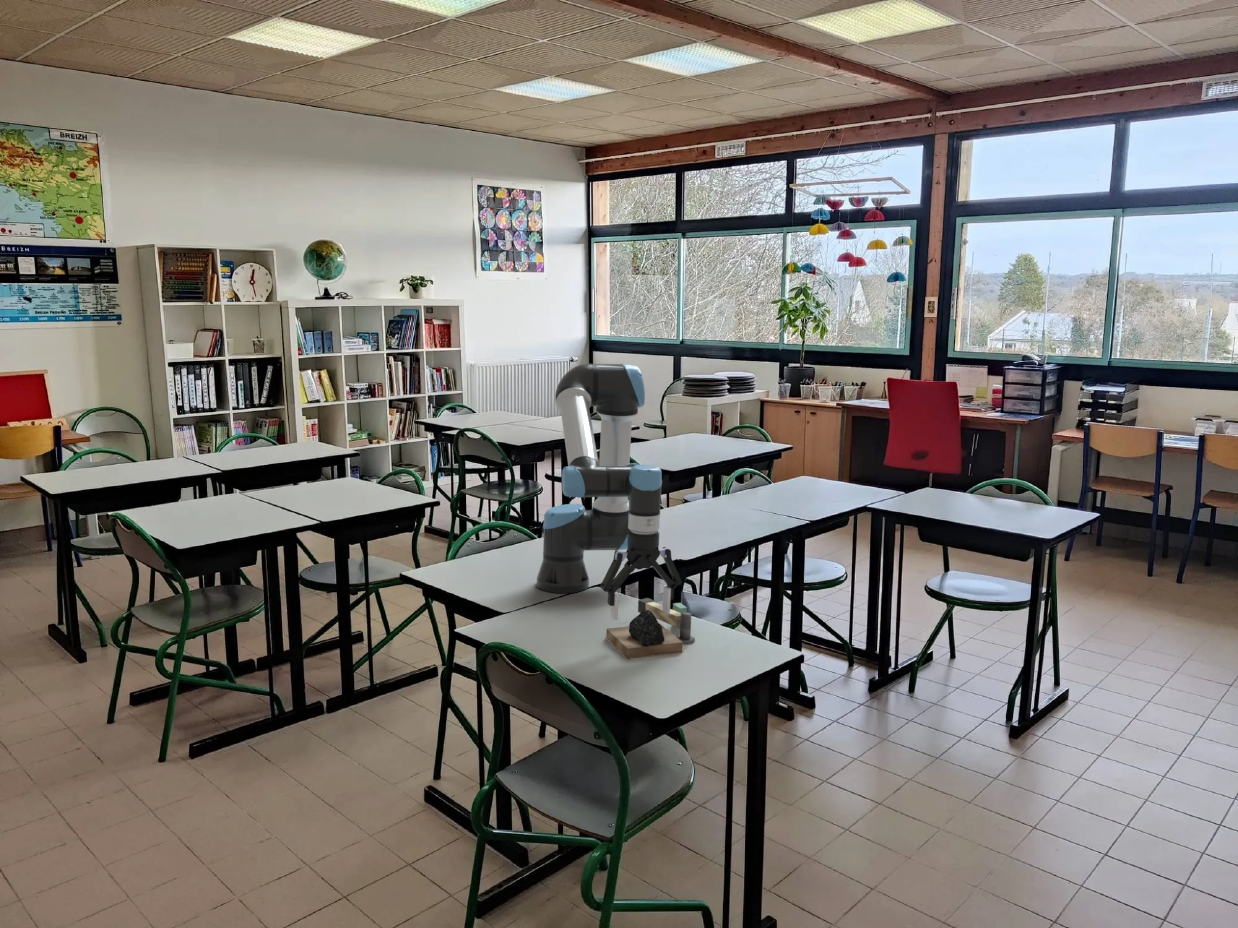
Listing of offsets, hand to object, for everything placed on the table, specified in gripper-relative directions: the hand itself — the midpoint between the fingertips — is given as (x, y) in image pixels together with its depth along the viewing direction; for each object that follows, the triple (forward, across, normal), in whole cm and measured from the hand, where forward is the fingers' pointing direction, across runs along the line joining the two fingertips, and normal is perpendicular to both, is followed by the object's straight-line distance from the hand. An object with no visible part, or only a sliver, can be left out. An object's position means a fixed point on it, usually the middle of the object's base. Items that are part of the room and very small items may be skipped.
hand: (640, 615), depth 226 cm
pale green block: (+7, +14, +7) cm, 17 cm away
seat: (+7, +3, -2) cm, 8 cm away
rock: (+4, 0, -4) cm, 6 cm away
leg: (+4, +9, +7) cm, 12 cm away
